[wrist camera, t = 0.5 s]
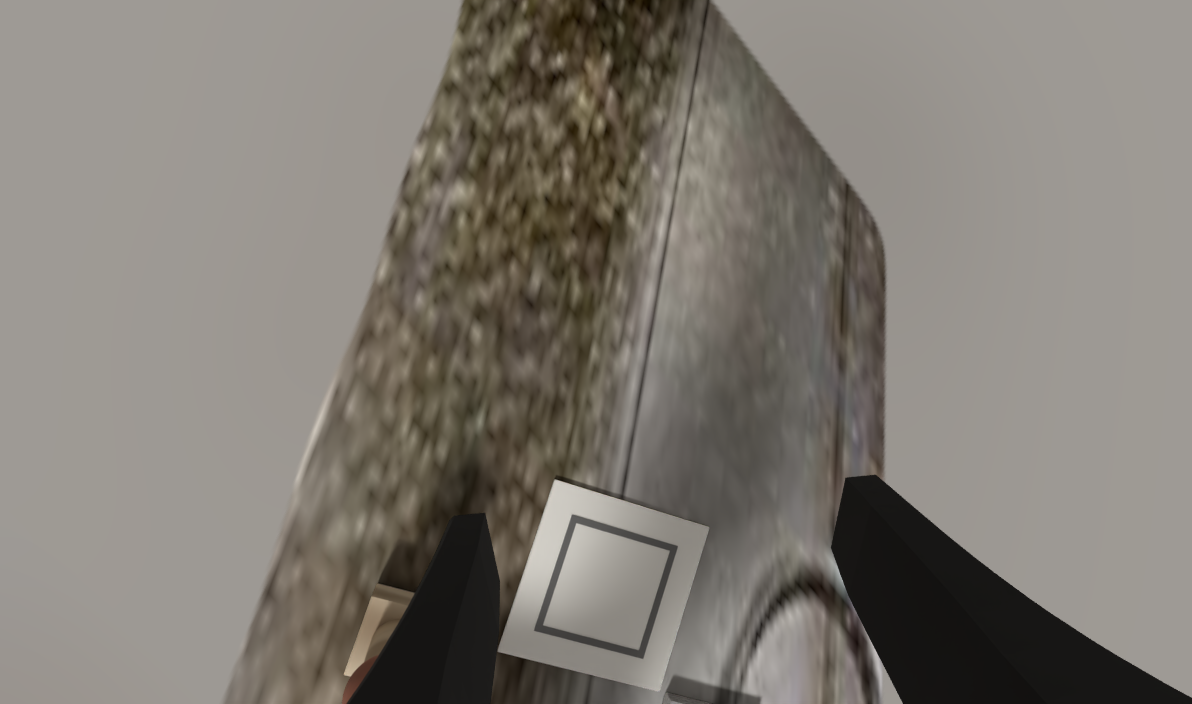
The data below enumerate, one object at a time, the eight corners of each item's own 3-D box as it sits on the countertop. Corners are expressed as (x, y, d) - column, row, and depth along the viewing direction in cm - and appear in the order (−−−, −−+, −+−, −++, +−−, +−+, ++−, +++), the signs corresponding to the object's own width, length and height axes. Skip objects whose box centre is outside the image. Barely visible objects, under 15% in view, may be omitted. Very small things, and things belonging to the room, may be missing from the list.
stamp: (424, 670, 34) (411, 778, 25) (351, 653, 34) (311, 757, 25) (449, 599, 35) (445, 680, 26) (377, 580, 34) (347, 657, 25)
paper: (658, 690, 37) (659, 692, 37) (497, 650, 35) (497, 652, 35) (708, 526, 38) (709, 527, 38) (554, 479, 36) (555, 479, 36)
